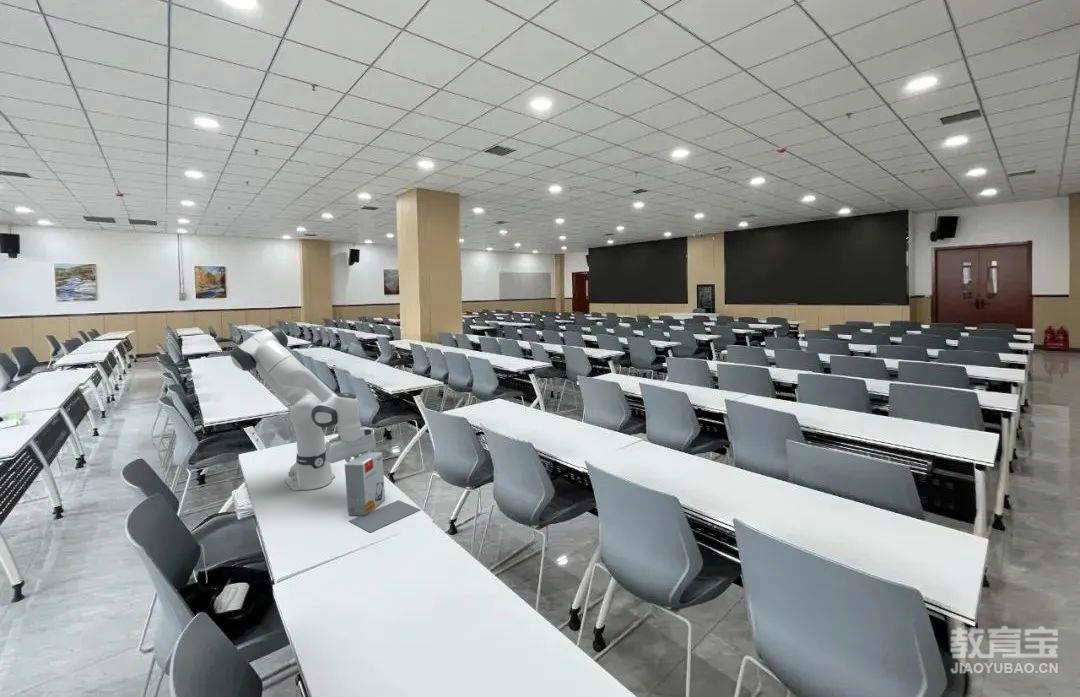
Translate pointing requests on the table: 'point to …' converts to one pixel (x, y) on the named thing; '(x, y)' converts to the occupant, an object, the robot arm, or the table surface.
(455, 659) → the table surface
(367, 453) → the hard drive box
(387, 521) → the mat
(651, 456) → the table surface
